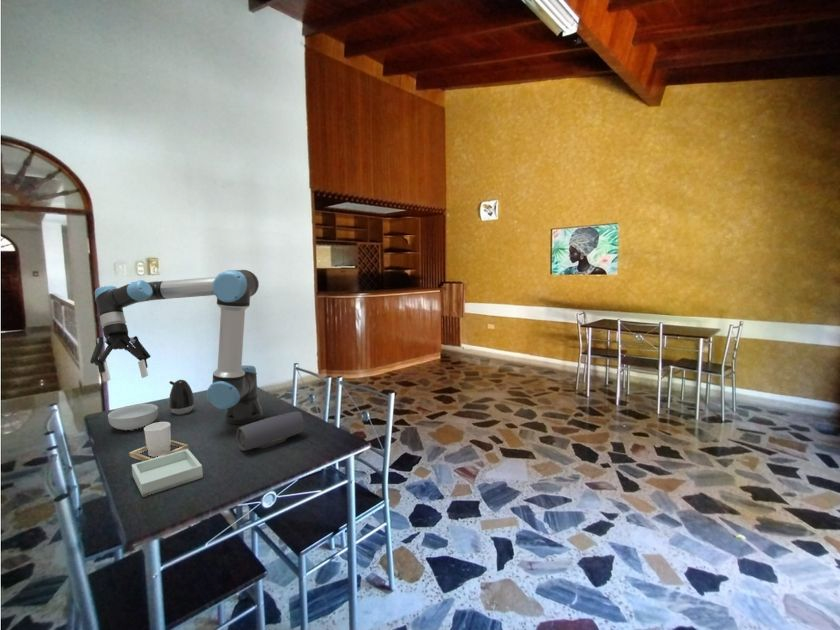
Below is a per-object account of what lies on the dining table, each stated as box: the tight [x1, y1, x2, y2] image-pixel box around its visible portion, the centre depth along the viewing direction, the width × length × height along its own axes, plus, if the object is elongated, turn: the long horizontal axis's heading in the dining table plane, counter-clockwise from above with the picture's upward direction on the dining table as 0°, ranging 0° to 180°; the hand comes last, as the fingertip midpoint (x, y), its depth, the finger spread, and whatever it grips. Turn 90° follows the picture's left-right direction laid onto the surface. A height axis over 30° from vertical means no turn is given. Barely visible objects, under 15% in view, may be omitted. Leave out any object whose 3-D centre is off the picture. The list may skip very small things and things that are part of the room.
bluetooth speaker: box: [236, 411, 306, 452], centre depth 153 cm, size 23×9×10 cm, turn 135°
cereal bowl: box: [107, 403, 159, 431], centre depth 169 cm, size 17×17×7 cm
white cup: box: [143, 421, 172, 458], centre depth 146 cm, size 8×8×10 cm
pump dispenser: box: [168, 379, 196, 415], centre depth 184 cm, size 10×10×15 cm
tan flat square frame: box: [128, 439, 189, 462], centre depth 146 cm, size 13×13×2 cm
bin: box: [131, 449, 204, 498], centre depth 129 cm, size 16×16×4 cm
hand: (126, 378), depth 153 cm, fingers open, 13 cm apart
